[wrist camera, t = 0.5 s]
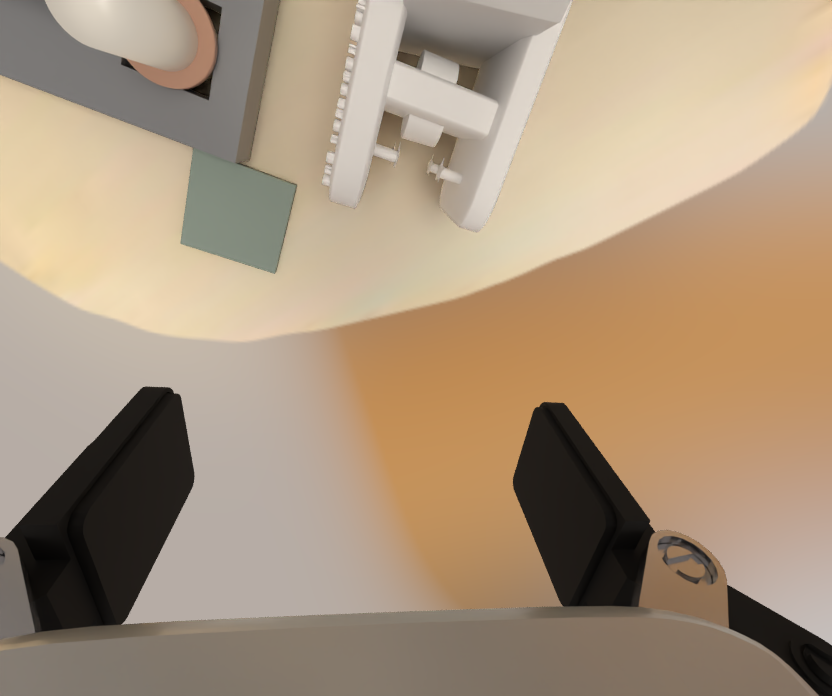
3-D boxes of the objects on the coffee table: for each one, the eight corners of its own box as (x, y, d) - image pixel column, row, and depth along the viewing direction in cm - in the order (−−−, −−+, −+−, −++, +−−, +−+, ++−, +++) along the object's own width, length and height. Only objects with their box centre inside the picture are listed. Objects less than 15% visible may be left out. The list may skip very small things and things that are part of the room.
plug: (155, -21, 27) (12, -124, 16) (243, 21, 29) (166, -49, 18) (147, 74, 30) (17, 39, 19) (229, 108, 31) (153, 93, 20)
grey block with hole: (-28, -173, 24) (-98, -226, 20) (283, -17, 28) (270, -39, 25) (-15, 59, 28) (-69, 48, 25) (249, 160, 33) (235, 163, 29)
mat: (196, 147, 32) (193, 147, 32) (296, 185, 34) (295, 185, 34) (183, 242, 35) (180, 243, 35) (276, 271, 37) (274, 273, 37)
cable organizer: (449, 218, 36) (481, 252, 26) (332, 181, 34) (316, 202, 24) (517, 18, 30) (594, -41, 20) (379, -45, 28) (385, -150, 17)
